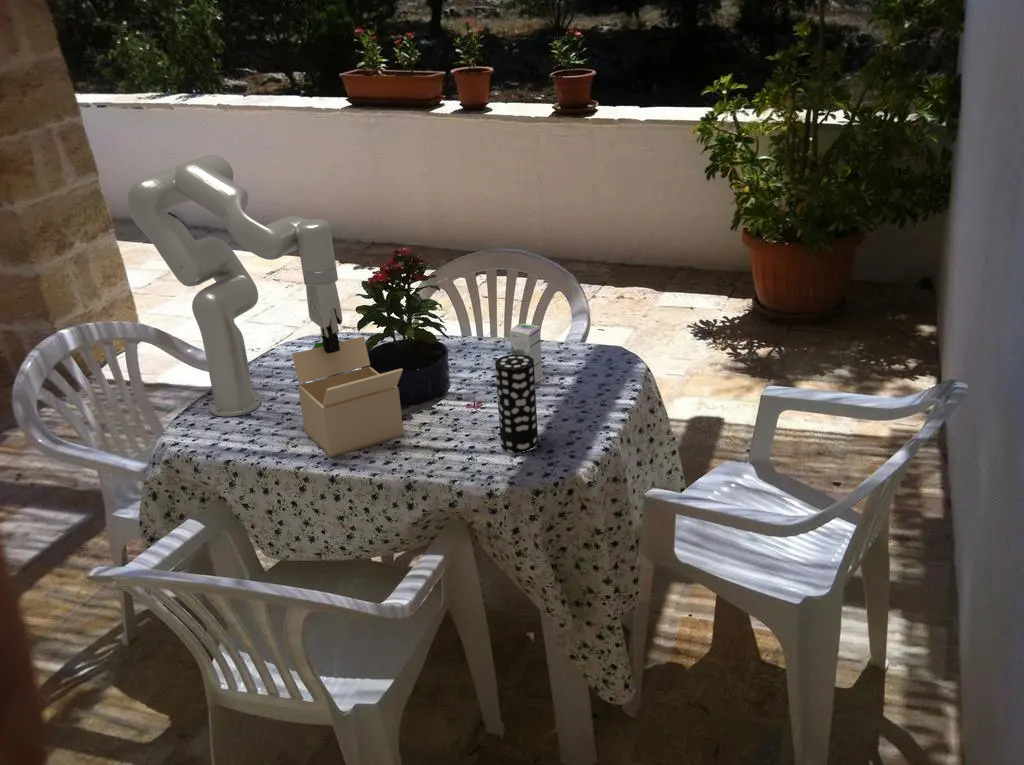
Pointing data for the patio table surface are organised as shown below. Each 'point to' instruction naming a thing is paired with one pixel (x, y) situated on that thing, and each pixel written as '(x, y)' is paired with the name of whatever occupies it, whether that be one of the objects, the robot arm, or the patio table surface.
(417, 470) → the patio table surface
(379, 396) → the carton
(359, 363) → the flap
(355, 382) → the cardboard box flap
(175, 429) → the patio table surface
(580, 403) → the patio table surface
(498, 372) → the spotted tube
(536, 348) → the syrup box
